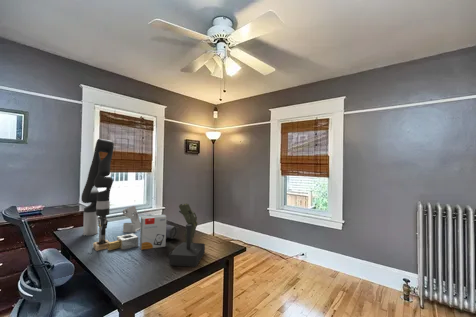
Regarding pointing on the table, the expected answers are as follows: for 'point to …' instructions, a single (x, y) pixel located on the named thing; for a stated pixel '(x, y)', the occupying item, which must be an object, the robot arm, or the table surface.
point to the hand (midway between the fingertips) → (102, 234)
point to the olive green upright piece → (189, 219)
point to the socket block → (128, 241)
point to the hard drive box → (153, 231)
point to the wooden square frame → (100, 247)
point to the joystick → (187, 252)
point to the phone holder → (134, 219)
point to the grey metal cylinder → (101, 236)
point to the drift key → (114, 245)
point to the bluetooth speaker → (171, 231)
